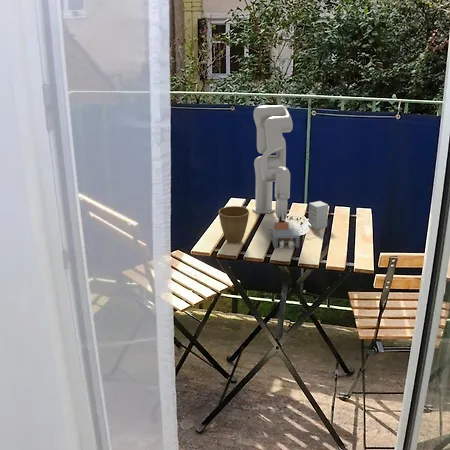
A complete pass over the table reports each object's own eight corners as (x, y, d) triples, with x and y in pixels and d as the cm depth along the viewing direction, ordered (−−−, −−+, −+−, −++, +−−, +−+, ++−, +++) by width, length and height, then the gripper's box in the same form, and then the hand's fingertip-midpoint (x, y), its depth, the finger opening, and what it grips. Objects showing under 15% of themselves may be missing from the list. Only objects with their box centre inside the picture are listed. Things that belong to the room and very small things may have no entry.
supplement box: (319, 222, 302) (320, 200, 298) (327, 227, 296) (328, 204, 291) (307, 225, 299) (308, 202, 295) (315, 229, 293) (317, 206, 288)
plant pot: (221, 235, 287) (221, 205, 281) (250, 236, 284) (251, 206, 278) (216, 246, 273) (216, 215, 267) (246, 248, 270) (247, 217, 265)
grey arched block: (274, 233, 288) (274, 222, 286) (287, 233, 289) (288, 221, 286) (276, 242, 277) (277, 230, 275) (291, 242, 277) (291, 230, 275)
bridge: (270, 234, 287) (270, 222, 285) (293, 233, 288) (294, 222, 285) (273, 247, 271) (274, 235, 268) (299, 247, 271) (299, 235, 269)
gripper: (273, 190, 291) (272, 223, 297) (276, 199, 277) (275, 234, 283) (287, 190, 291) (286, 223, 298) (291, 199, 277) (290, 233, 284)
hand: (281, 228), depth 291 cm, fingers closed
